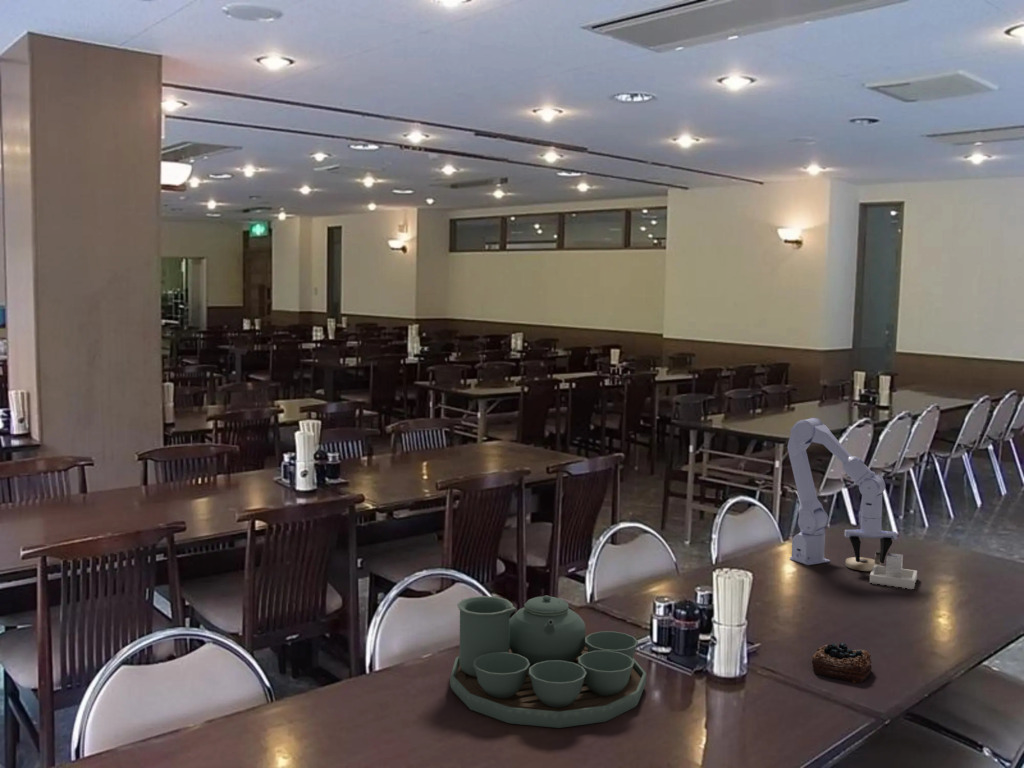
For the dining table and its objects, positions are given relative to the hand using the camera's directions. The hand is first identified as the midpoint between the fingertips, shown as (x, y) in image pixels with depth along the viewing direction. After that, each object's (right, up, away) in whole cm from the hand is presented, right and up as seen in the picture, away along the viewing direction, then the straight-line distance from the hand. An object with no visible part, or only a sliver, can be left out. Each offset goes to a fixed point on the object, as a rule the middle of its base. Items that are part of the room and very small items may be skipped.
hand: (869, 561), depth 273 cm
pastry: (-36, -9, -75) cm, 84 cm away
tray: (+3, -4, -9) cm, 11 cm away
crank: (0, -3, +4) cm, 5 cm away
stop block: (+3, -3, -9) cm, 10 cm away
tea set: (-99, -9, -85) cm, 131 cm away
